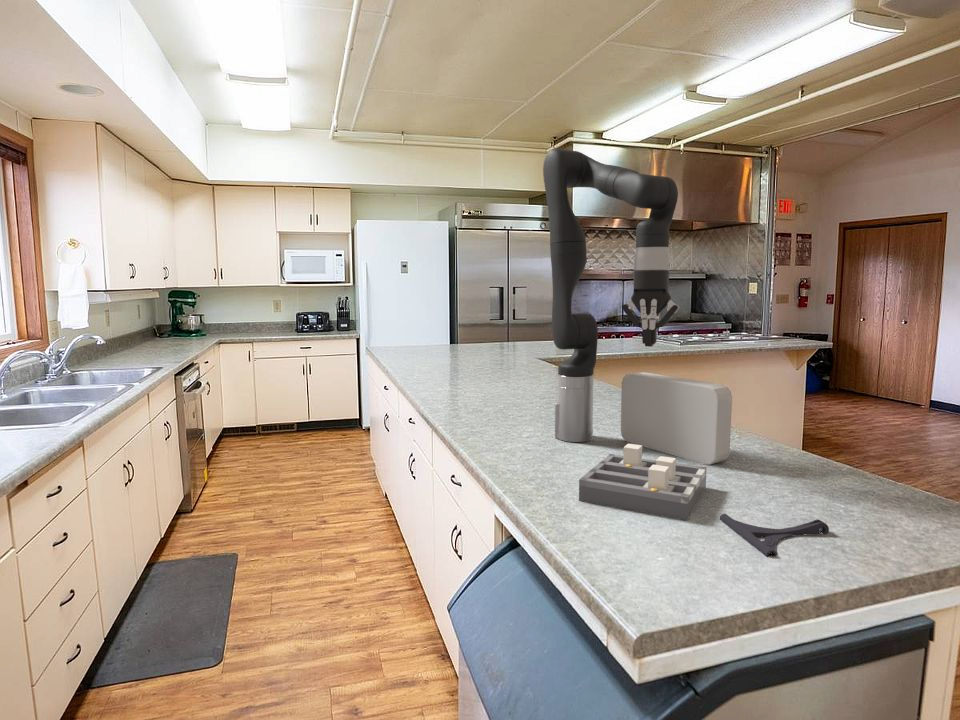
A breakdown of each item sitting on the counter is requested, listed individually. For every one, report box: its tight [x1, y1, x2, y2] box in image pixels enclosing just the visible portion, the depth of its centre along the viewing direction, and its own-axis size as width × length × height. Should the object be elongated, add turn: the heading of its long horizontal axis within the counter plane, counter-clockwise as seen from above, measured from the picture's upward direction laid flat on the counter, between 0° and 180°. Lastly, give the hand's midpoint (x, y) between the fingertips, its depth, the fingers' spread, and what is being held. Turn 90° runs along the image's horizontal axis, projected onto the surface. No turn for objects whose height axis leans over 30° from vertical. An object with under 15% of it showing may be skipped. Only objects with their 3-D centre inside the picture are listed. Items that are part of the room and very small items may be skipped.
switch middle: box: [655, 455, 681, 482], centre depth 115 cm, size 5×3×4 cm
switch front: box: [643, 465, 674, 492], centre depth 110 cm, size 5×3×4 cm
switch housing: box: [578, 453, 708, 521], centre depth 117 cm, size 20×19×4 cm
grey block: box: [620, 371, 733, 465], centre depth 146 cm, size 29×8×18 cm, turn 33°
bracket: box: [719, 513, 830, 558], centre depth 98 cm, size 14×15×3 cm
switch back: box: [620, 443, 647, 467], centre depth 124 cm, size 5×3×4 cm
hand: (649, 346), depth 134 cm, fingers closed
